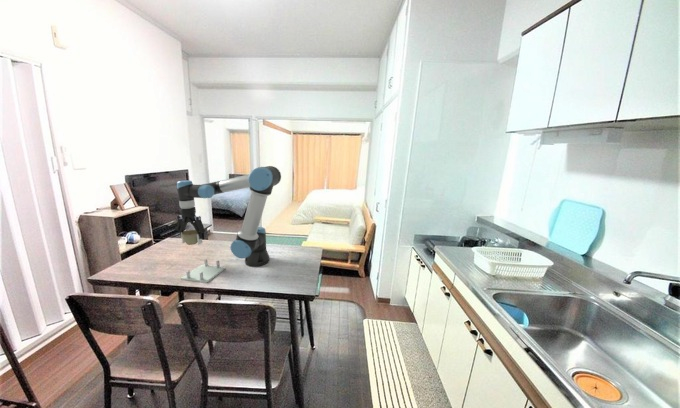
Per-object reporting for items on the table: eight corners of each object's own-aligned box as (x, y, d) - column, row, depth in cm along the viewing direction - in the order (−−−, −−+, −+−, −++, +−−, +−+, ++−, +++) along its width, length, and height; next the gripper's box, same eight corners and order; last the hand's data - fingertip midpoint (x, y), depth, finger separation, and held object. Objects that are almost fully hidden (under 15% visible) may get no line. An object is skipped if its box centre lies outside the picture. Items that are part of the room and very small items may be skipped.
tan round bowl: (192, 247, 137) (191, 235, 135) (178, 245, 139) (176, 234, 137) (205, 241, 146) (204, 230, 145) (192, 239, 148) (190, 228, 147)
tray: (225, 268, 144) (224, 261, 143) (207, 282, 128) (206, 274, 127) (201, 266, 146) (201, 258, 145) (181, 279, 131) (180, 271, 130)
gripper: (209, 206, 139) (213, 242, 144) (176, 204, 143) (181, 239, 148) (200, 209, 132) (204, 246, 137) (165, 207, 136) (170, 243, 141)
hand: (192, 243), depth 142 cm, fingers closed on tan round bowl, 10 cm apart
